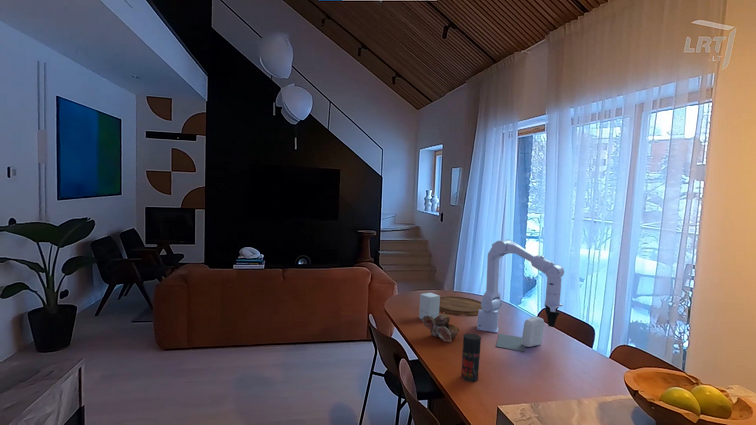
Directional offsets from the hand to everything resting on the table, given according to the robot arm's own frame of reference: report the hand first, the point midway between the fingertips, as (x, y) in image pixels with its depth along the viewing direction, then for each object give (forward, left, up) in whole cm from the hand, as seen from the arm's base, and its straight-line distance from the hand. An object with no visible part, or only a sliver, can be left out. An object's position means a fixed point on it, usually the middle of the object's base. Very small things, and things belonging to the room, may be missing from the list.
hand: (550, 323), depth 178 cm
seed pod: (-44, -12, -11) cm, 47 cm away
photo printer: (-7, -1, -10) cm, 13 cm away
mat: (-15, -2, -10) cm, 19 cm away
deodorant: (-27, -46, -11) cm, 54 cm away
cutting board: (-46, +41, -11) cm, 63 cm away
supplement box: (-56, +11, -11) cm, 58 cm away
